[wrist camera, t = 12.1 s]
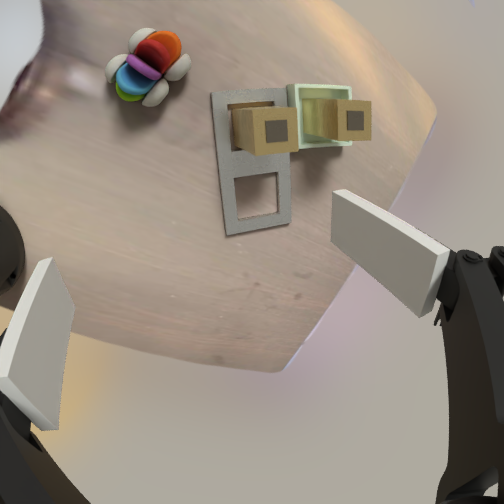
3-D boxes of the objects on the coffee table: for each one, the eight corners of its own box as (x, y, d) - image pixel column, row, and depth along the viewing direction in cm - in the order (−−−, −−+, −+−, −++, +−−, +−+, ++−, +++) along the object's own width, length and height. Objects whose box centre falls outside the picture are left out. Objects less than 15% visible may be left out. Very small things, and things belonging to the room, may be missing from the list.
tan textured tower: (234, 145, 38) (256, 156, 30) (231, 109, 35) (252, 109, 28) (269, 141, 39) (299, 151, 31) (267, 106, 36) (297, 107, 29)
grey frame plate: (225, 233, 43) (226, 235, 43) (210, 92, 33) (211, 92, 33) (289, 220, 45) (291, 222, 45) (283, 88, 36) (286, 87, 35)
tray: (290, 146, 40) (297, 148, 38) (287, 84, 35) (294, 83, 33) (343, 142, 42) (352, 145, 40) (341, 86, 37) (351, 86, 35)
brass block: (303, 132, 39) (338, 141, 31) (301, 98, 37) (338, 99, 29) (333, 131, 40) (371, 140, 32) (332, 98, 38) (371, 101, 30)
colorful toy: (199, 60, 31) (208, 49, 25) (148, 117, 33) (146, 118, 27) (150, 24, 27) (149, 6, 20) (99, 81, 28) (85, 76, 22)
